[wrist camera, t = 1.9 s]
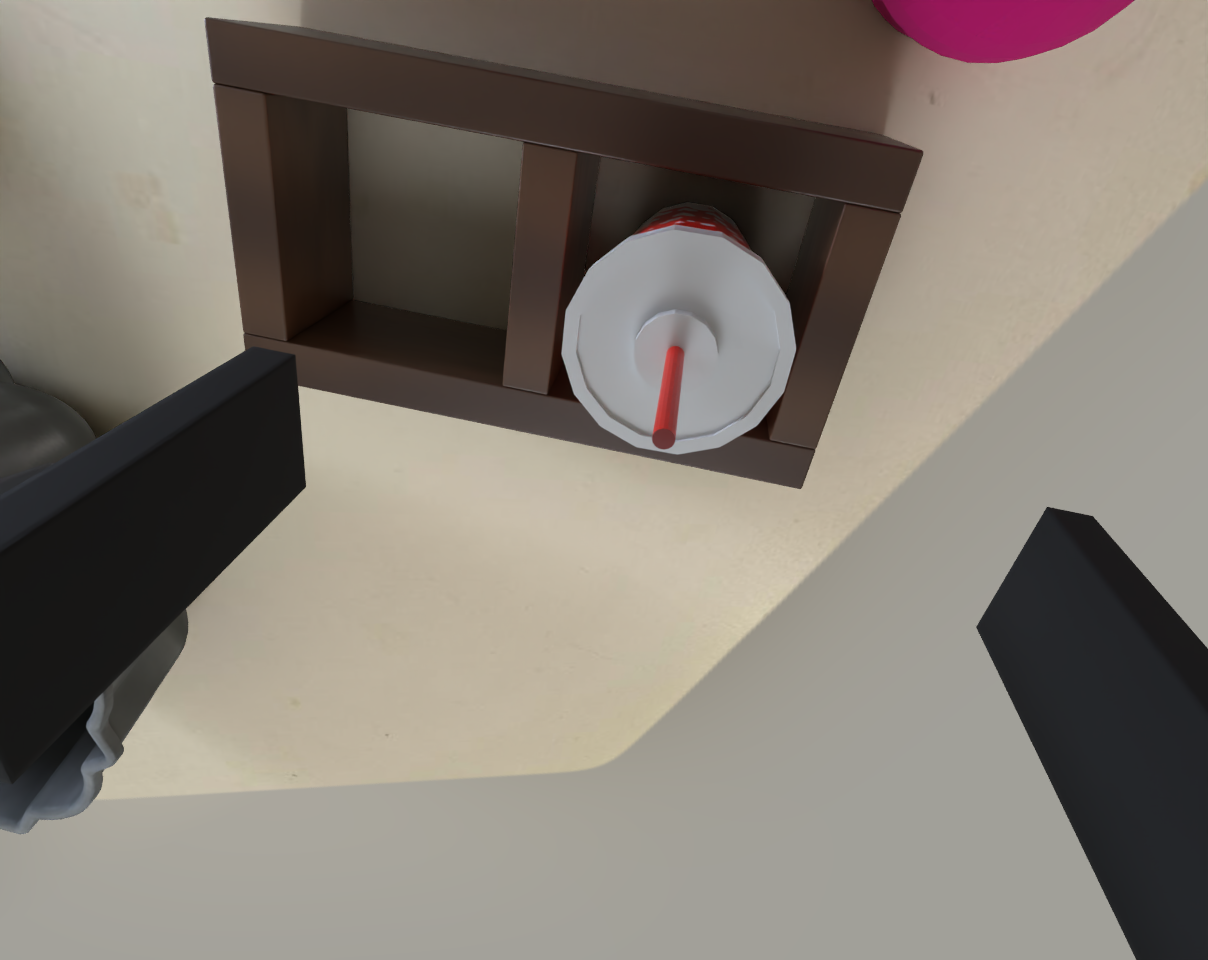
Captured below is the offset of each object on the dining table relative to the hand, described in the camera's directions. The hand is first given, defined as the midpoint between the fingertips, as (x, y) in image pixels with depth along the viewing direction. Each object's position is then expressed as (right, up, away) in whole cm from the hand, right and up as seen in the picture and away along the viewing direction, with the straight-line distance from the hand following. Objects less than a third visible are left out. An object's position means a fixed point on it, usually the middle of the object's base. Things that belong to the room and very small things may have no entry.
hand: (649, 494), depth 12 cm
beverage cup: (+2, +8, +14) cm, 16 cm away
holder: (-2, +9, +14) cm, 17 cm away
